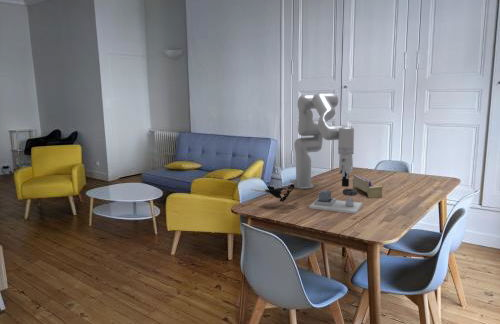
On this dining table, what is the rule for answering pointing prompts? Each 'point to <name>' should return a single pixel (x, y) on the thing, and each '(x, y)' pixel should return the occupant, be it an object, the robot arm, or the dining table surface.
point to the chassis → (337, 205)
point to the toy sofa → (366, 187)
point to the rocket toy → (277, 192)
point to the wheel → (349, 192)
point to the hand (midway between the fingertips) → (345, 186)
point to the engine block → (325, 196)
